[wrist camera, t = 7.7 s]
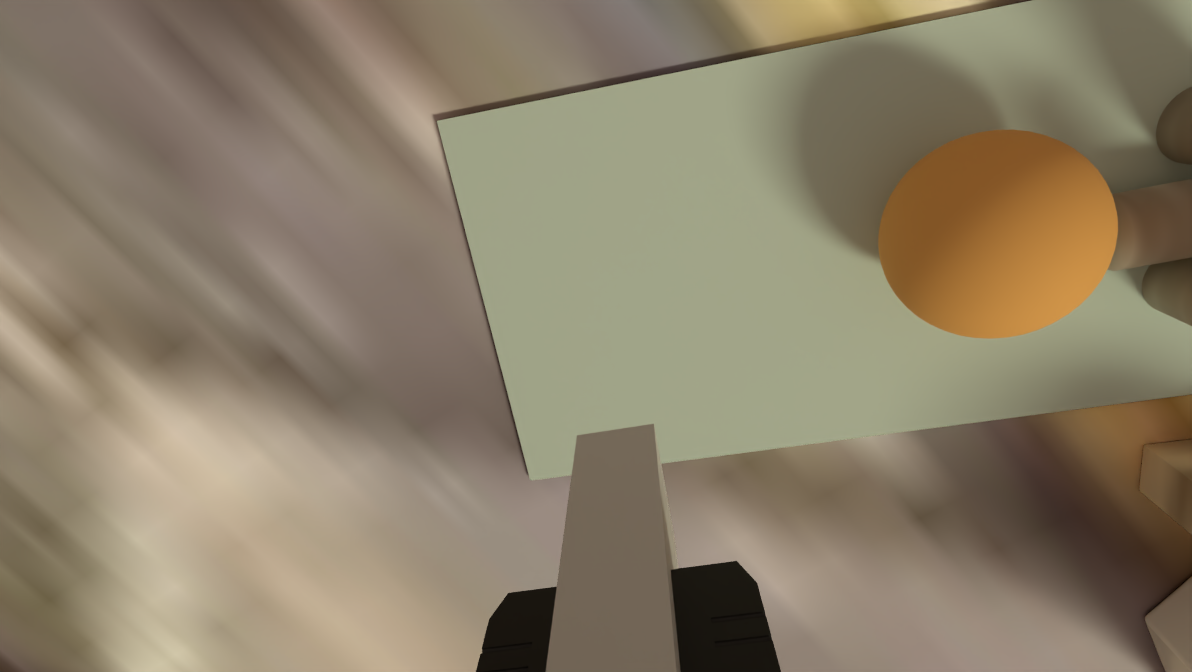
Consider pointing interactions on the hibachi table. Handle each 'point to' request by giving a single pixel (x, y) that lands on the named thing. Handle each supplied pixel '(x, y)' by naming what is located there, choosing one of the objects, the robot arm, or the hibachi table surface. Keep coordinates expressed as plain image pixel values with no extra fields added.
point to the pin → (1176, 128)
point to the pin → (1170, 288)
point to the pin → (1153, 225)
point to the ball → (998, 234)
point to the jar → (1173, 629)
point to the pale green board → (803, 235)
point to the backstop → (1169, 479)
